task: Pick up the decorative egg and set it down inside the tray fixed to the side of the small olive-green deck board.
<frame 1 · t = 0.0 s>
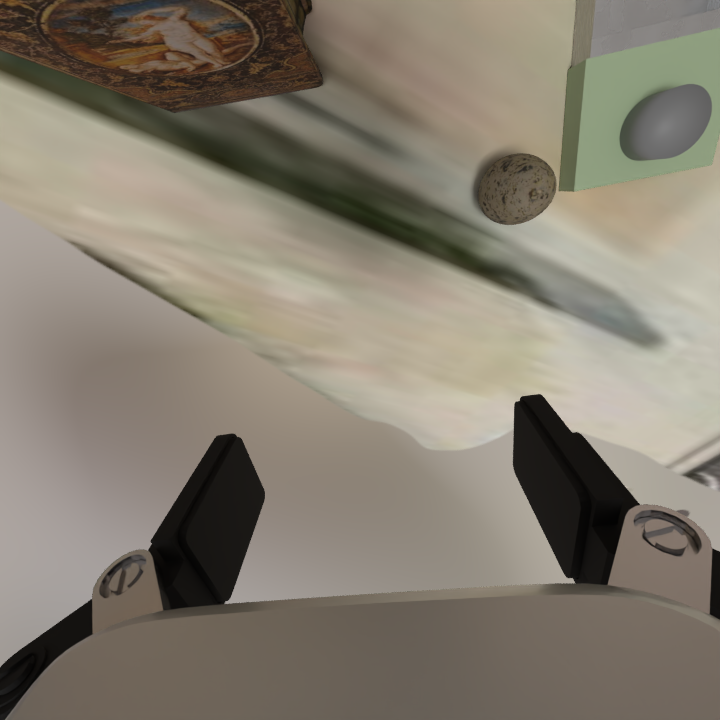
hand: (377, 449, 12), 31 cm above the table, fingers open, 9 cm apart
deck: (629, 120, 32), on the table
decorative egg: (498, 189, 36), on the table
book: (234, 65, 32), on the table
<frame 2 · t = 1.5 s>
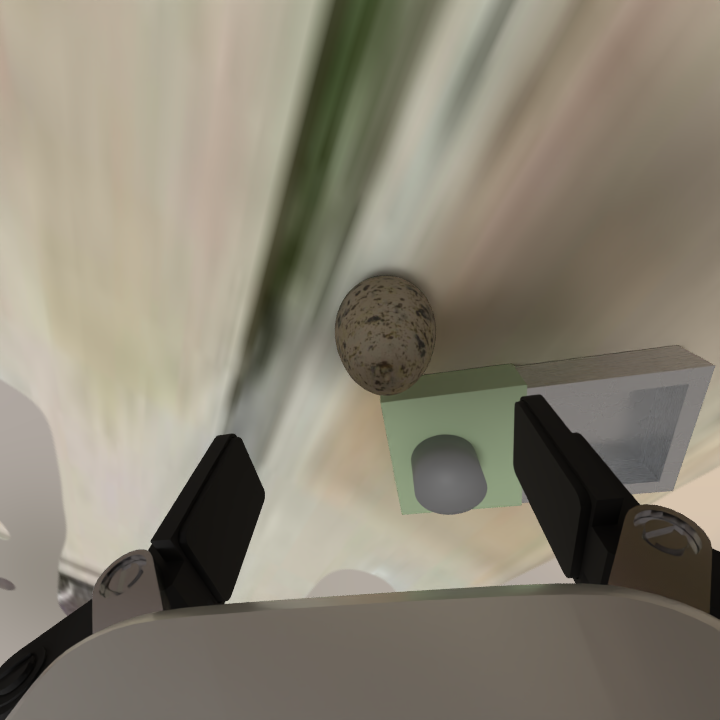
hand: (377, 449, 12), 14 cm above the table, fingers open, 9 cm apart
deck: (449, 432, 29), on the table
tray: (583, 418, 27), on the table
decorative egg: (383, 305, 24), on the table
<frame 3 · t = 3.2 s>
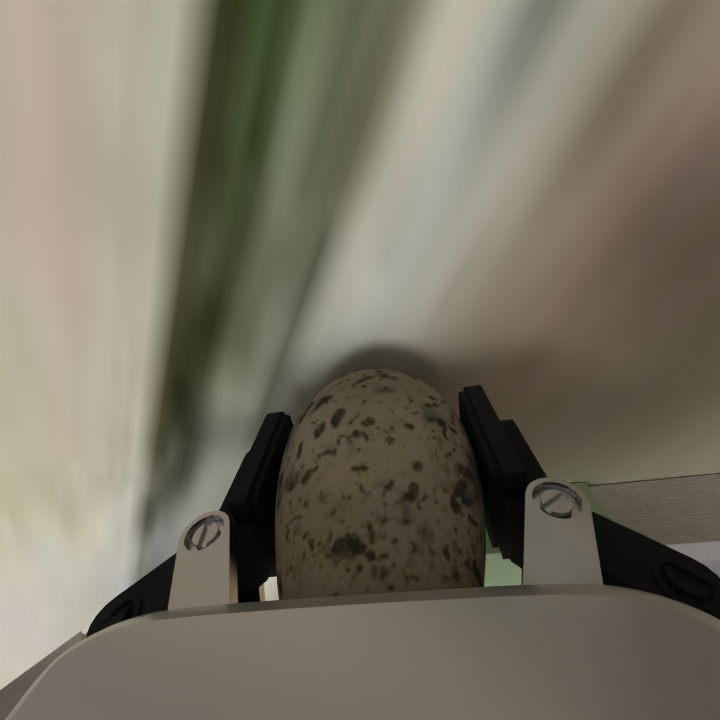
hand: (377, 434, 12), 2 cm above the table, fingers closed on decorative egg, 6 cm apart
deck: (478, 567, 19), on the table
tray: (687, 552, 18), on the table
decorative egg: (377, 398, 14), on the table, touching gripper
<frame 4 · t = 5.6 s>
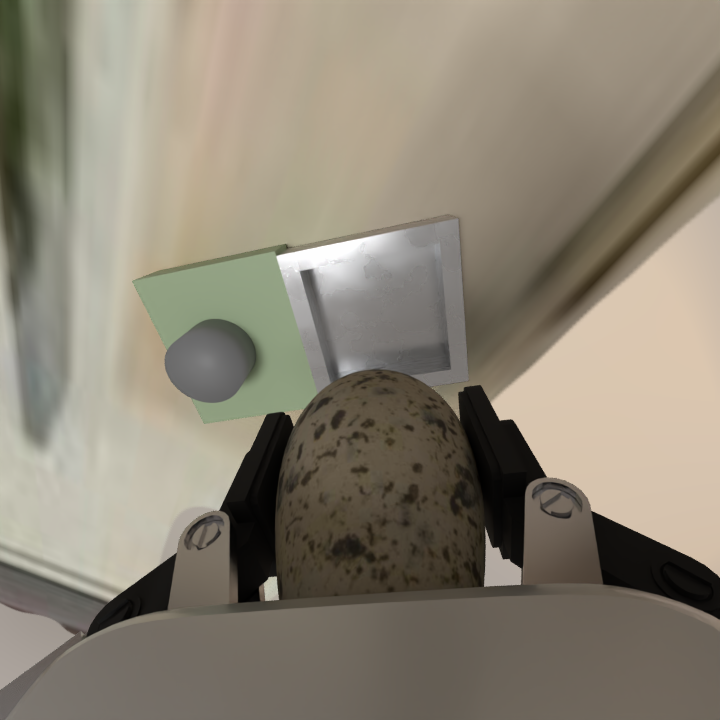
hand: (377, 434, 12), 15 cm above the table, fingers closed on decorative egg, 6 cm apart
deck: (248, 332, 27), on the table
tray: (379, 309, 26), on the table
decorative egg: (377, 399, 14), point 13 cm above the table, touching gripper
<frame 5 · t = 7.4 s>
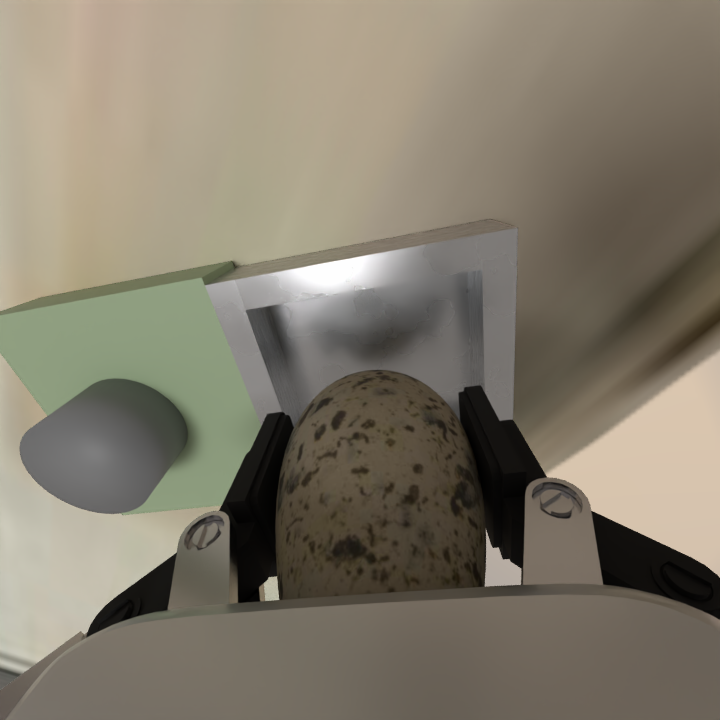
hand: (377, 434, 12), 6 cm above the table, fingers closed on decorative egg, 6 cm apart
deck: (185, 386, 19), on the table
tray: (377, 358, 17), on the table
decorative egg: (377, 399, 14), point 4 cm above the table, touching gripper
when the fingers open (4 cm above the table, at t = 8.2 s): decorative egg drops 2 cm, resting on tray.
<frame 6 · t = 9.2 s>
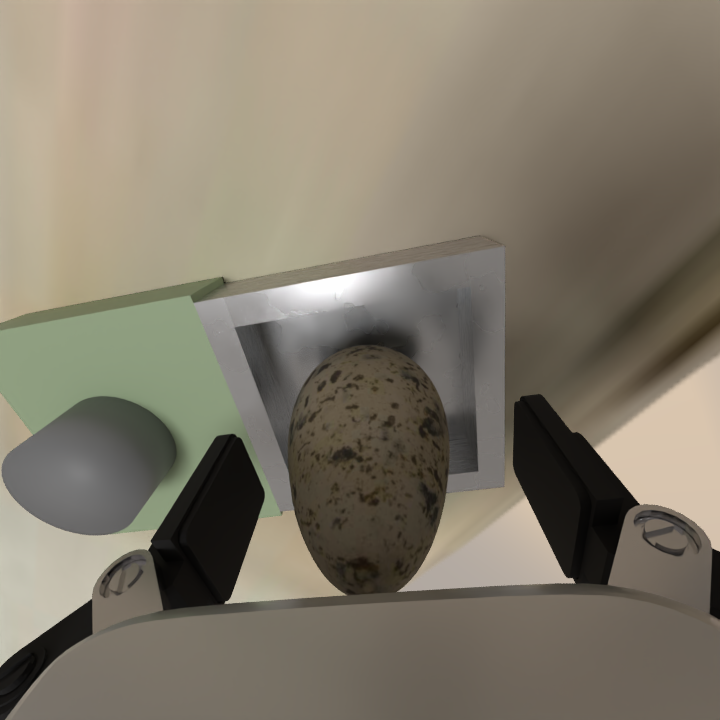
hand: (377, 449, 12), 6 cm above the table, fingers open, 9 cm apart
deck: (175, 402, 18), on the table
tray: (369, 373, 17), on the table
decorative egg: (368, 375, 17), resting on tray
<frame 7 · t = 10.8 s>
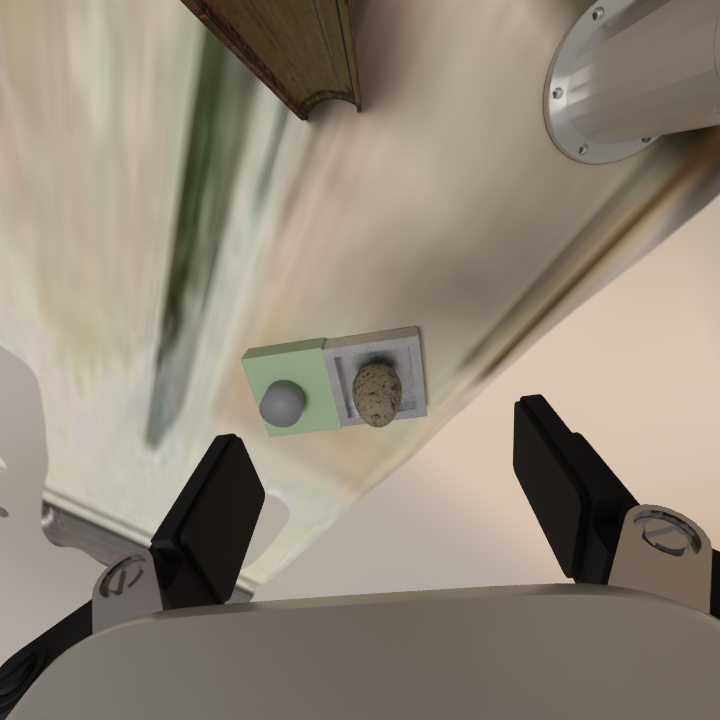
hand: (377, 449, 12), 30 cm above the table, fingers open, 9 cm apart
deck: (297, 383, 46), on the table
tray: (376, 372, 44), on the table
decorative egg: (376, 373, 44), resting on tray
book: (318, 3, 29), on the table
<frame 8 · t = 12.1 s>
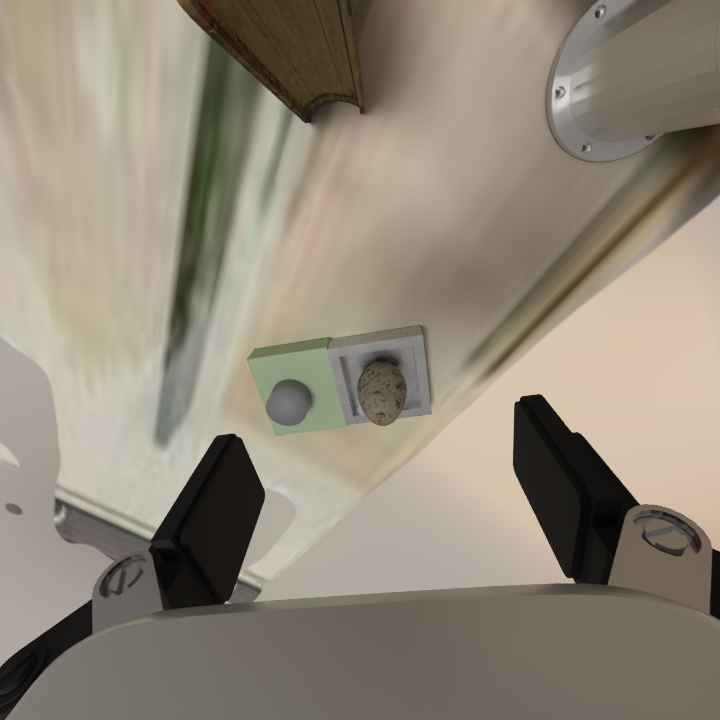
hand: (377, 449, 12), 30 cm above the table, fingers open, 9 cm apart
deck: (303, 382, 46), on the table
tray: (381, 371, 45), on the table
decorative egg: (381, 372, 44), resting on tray
book: (321, 6, 29), on the table
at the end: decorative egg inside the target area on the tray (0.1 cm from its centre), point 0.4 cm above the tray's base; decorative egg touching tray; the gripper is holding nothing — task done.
